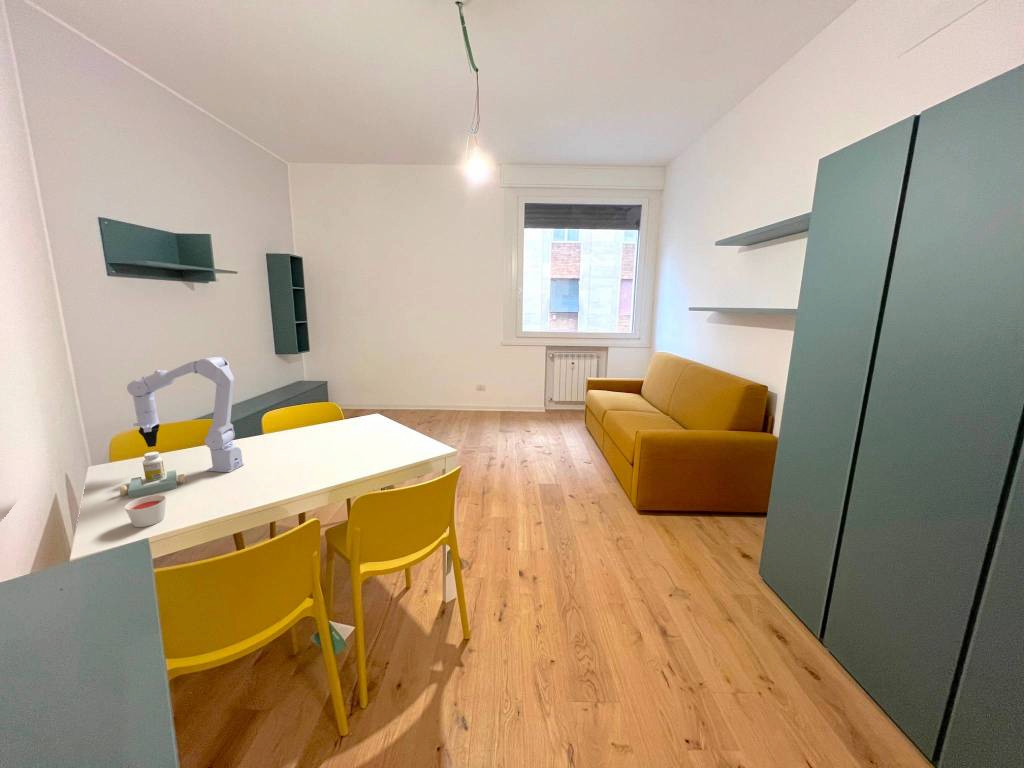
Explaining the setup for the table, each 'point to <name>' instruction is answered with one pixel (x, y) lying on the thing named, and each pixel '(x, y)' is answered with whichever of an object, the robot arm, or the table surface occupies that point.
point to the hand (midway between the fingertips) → (152, 445)
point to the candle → (146, 510)
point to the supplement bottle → (153, 466)
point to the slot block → (151, 485)
